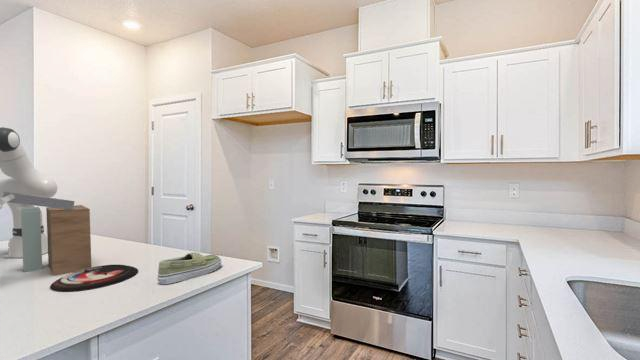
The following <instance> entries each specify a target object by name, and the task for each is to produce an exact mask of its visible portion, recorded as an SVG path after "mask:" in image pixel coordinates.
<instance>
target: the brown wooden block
mask: <svg viewBox="0 0 640 360" xmlns="http://www.w3.org/2000/svg"><path fill="white" fill-rule="evenodd" d="M45 208H46V212H45V213H46V236H47V239H48V253H47V257H48V258H47V260H48V261H47V262H48V267H49V269H50V271H51V274H52V276H60V275H67V274H70V273H72V272H75V271H78V270H82V269H86V268H91V267H92V242H91V241H92V240H91V239H92V238H91V214H90V213H91V212H90V211H91V210H90V208H89V207H86V206H84V205H83V204H79V205H78V204H77V205H75V204H74V206H73V210H69V209H60V208H52V207H45Z"/></svg>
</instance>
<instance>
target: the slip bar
mask: <svg viewBox="0 0 640 360" xmlns="http://www.w3.org/2000/svg"><path fill="white" fill-rule="evenodd" d="M10 194H13V195H14V196H15V198H14V199H12V200H10V201H8V202H10V203H19V204H27V205H33V206H35V207H44V208H46V207H52V208H60V209H69V210H73V206H75V203H76V202H75V200H69V199H63V198H62V199H61V198H56V197H55V198H54V197H50V198H48V197H41V196H33V195H26V194H19V193H11V192H4V194H3V197H6V196H8V195H10Z"/></svg>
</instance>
